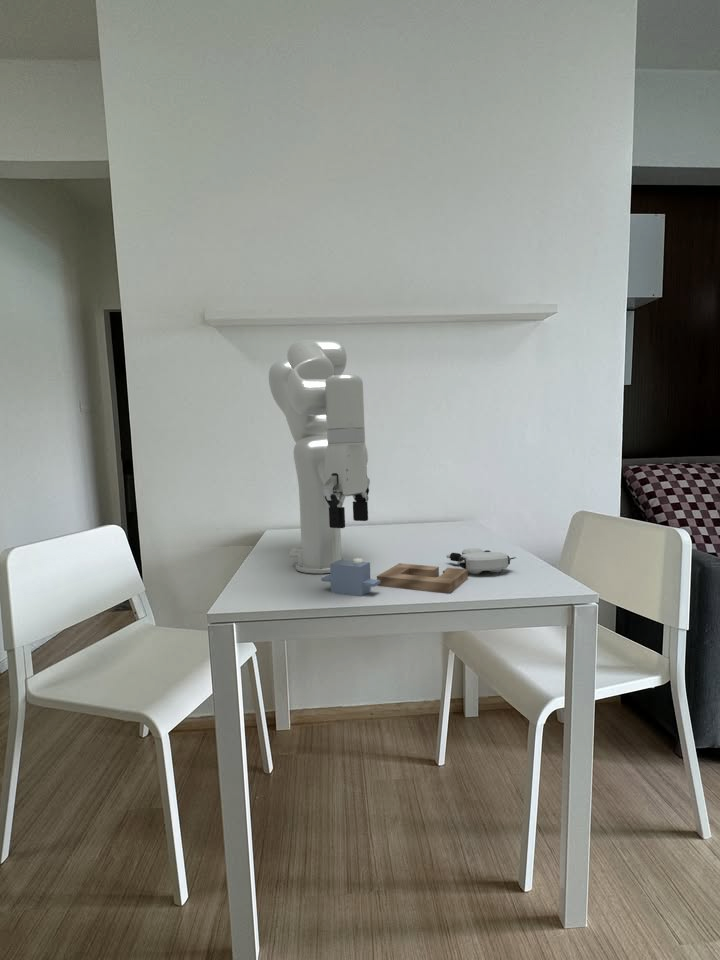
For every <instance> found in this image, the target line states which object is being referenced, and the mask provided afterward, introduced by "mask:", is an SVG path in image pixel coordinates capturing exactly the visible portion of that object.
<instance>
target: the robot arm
mask: <svg viewBox="0 0 720 960" xmlns="http://www.w3.org/2000/svg"><path fill="white" fill-rule="evenodd" d="M286 355H287V356H286V357H287V359H286V358H285V359H280V360H277V361H276V362H274V363H273V364H271V366H270V368H269V371H268V382H269V383H268V385H269V389H270V393H271V395H272V397H273V400H274V401H275V403H276V406H278V408H279V409H280V410H281V411H282V413H283V414H284V416H285V418H286V422H287V424H288V428H289V430H290V433H291V436H292V438H293V440H294V442H295V443H294V447H293V460H294V464H295V469H296V476H297V483H298V485H297V486H298V497H299V519H300V521H299V522H300V542H301V543H300V544H301V545H300V546H301V547H300V548H295V547H293V548H291V549H290V552H289V558H294V559H295V558H296V559H297V560H298V561H297V562H296V563H295V570H296V571H298V572H301V573H305V574H330V564H331V563H333V562H336V561H338V560H346V559H344V558H342V537H341V536H342V534H341V529H344V528H346V514H345V513H346V512H345V510H346V509H345V507H344V506H343V505H344V501H345V499H346V497H351V496H352V498H353V501H352V512H353V513H352V514H353V515H352V518H353V521H354V522H367V521H368V520H369V509H368V507H369V505H368V502H369V493H370V483H371V482H370V481H371V480H370V478H369V477H368V468H367V466H368V460H369V455H368V448H367V445H366V435H365V434H366V429H365V411H364V410H365V408H364V407H365V404H364V383H363V379H362V378H361V377H360V376H359V375H355V374H343V373H344V372H345V369H346V367H347V352H346V349H345V347H344V345H342V343H341V342H339V341H337V340H334V339H311V338H310V339H307V338H306V339H299V340H297V341H295V342H293V343H292V344H291V345H290V346H289V348H288V350H287V354H286Z"/></svg>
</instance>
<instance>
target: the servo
mask: <svg viewBox="0 0 720 960" xmlns="http://www.w3.org/2000/svg"><path fill="white" fill-rule="evenodd" d="M320 580H321V582H329V583H330V593H331V594H339V595H345V596H346V595H348V596H355V597H356V596H357V597H363V596H365V595H367V594H368V593H370V592H371V591H372V589H371V587H373V588H375V587H377V586H378V584H380V580H377V579H373V578H371V562H369V561H363V558H362V557H355V558H352V560H348V559H345V560H338V561H336V562H333V563H331V564H330V573H329V574H327V575H324V576H322V577H321V579H320Z"/></svg>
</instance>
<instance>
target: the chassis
mask: <svg viewBox="0 0 720 960" xmlns="http://www.w3.org/2000/svg"><path fill="white" fill-rule="evenodd" d="M468 574H469V572H468V569H464V568H459V567H458V568H456V567H446V568H445V569H444V570H442V573H441V574H440V567H439V566H436V565H435V566H433V565H423V564H411V563H398V564H396V565H394V566H392V567H391V568H389V569H386V570H385V571H384V572H381V573H380V574H378V575H376V580H380V584H378V585H377V586H378V587H387V588H395V589H405V590H416V591H423V592H424V591H425V592H426V591H427V592H433V593H442V594H451V593H453V592H454V591H455V590H456V589H458V588H459V587H460V586H461V585H462V584H463V583H464V582H466V581H467V580H468V579H469V577H468Z"/></svg>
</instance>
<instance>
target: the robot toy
mask: <svg viewBox="0 0 720 960" xmlns="http://www.w3.org/2000/svg"><path fill="white" fill-rule="evenodd" d="M445 558H447V559H449V560H450V561H453V562H457V565H458V566H459V567H460V568H461V569H468V574H469V573H470V574H472V575H478V574H479V575H480V574H481V573H482V572H483V571H488V572H489V573H492V572H497V573H500V572H501V571H502V570H503V569H508V567H509V565H510V564H511V561H512V560H514V559H517V556H513V557H510V556H509V555H507V553H506V554H505V552H504V553H503V552H500V551H490V550H483V549H482V548H478V547H475V548H474V547H471V548H464V549H463V550H462V551H461V553H458V552H451V553H450V554H446V556H445Z"/></svg>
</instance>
